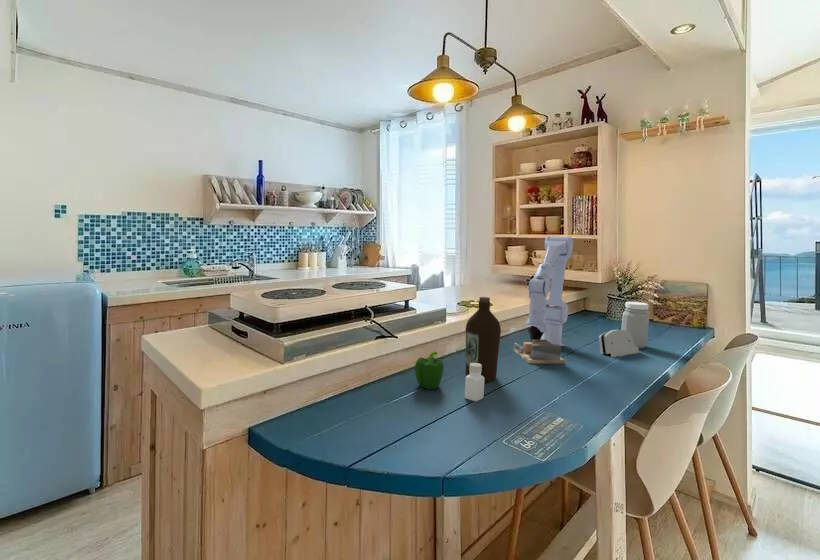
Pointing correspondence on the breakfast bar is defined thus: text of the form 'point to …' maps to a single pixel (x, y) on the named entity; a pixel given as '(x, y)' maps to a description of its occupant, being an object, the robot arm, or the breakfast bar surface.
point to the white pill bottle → (474, 383)
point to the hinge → (617, 343)
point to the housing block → (540, 342)
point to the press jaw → (527, 347)
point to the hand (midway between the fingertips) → (535, 346)
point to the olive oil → (483, 340)
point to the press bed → (541, 353)
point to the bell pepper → (429, 371)
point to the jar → (636, 322)
